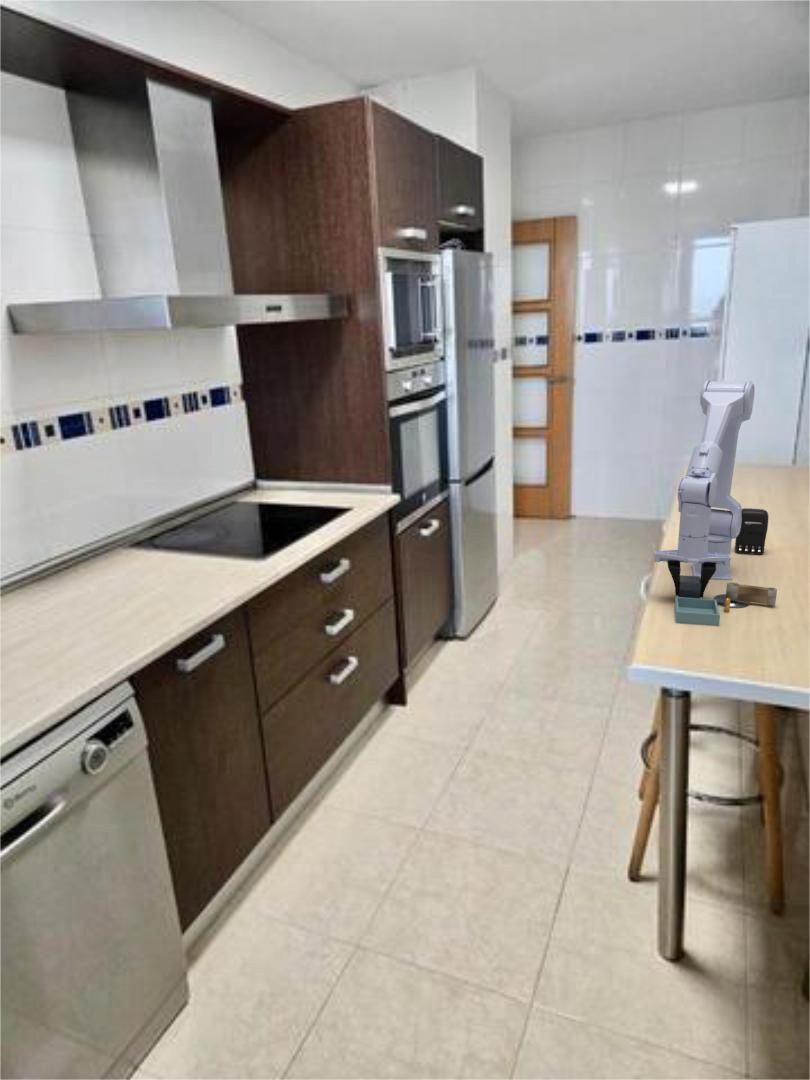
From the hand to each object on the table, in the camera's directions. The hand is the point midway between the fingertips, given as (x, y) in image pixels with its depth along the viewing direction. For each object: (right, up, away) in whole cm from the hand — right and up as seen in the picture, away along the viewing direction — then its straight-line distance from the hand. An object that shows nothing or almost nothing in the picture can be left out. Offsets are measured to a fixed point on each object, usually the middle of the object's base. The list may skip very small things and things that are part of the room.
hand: (688, 594), depth 148 cm
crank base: (+8, -2, -2) cm, 9 cm away
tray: (-1, -4, -7) cm, 8 cm away
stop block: (0, -1, 0) cm, 1 cm away
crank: (+11, -1, -3) cm, 12 cm away
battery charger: (+26, +8, +26) cm, 38 cm away
